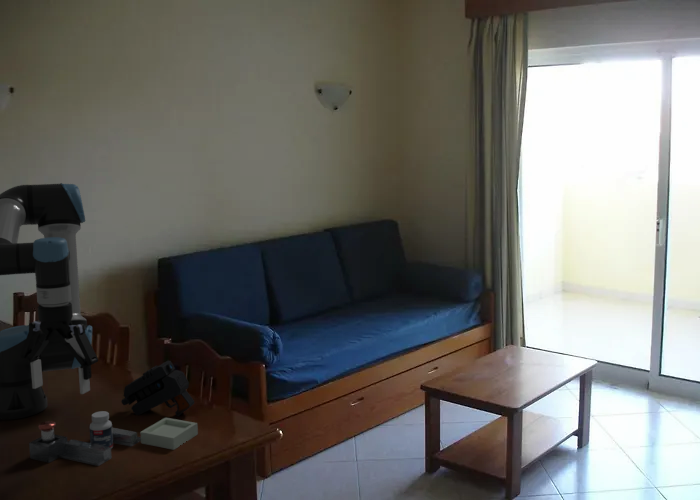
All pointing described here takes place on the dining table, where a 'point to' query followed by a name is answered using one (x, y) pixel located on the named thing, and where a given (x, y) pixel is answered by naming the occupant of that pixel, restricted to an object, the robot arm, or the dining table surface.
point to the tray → (169, 433)
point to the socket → (97, 448)
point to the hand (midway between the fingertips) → (61, 389)
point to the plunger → (47, 431)
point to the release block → (47, 449)
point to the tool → (158, 390)
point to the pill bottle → (101, 429)
